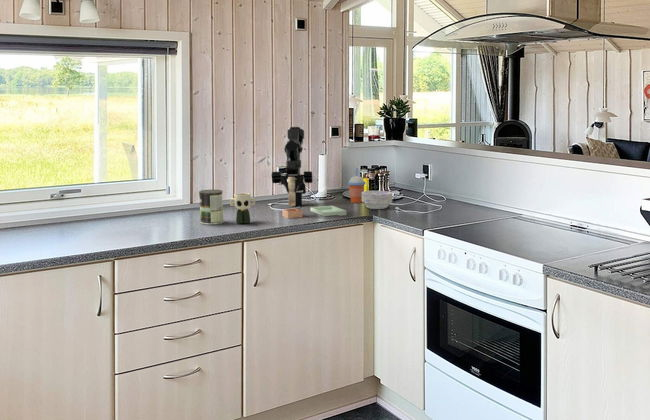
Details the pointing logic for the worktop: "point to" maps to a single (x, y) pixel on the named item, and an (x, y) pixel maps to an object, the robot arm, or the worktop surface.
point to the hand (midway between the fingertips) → (291, 191)
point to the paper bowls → (377, 199)
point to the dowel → (291, 191)
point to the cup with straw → (356, 188)
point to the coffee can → (211, 207)
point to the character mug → (242, 206)
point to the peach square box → (292, 213)
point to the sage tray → (328, 210)
